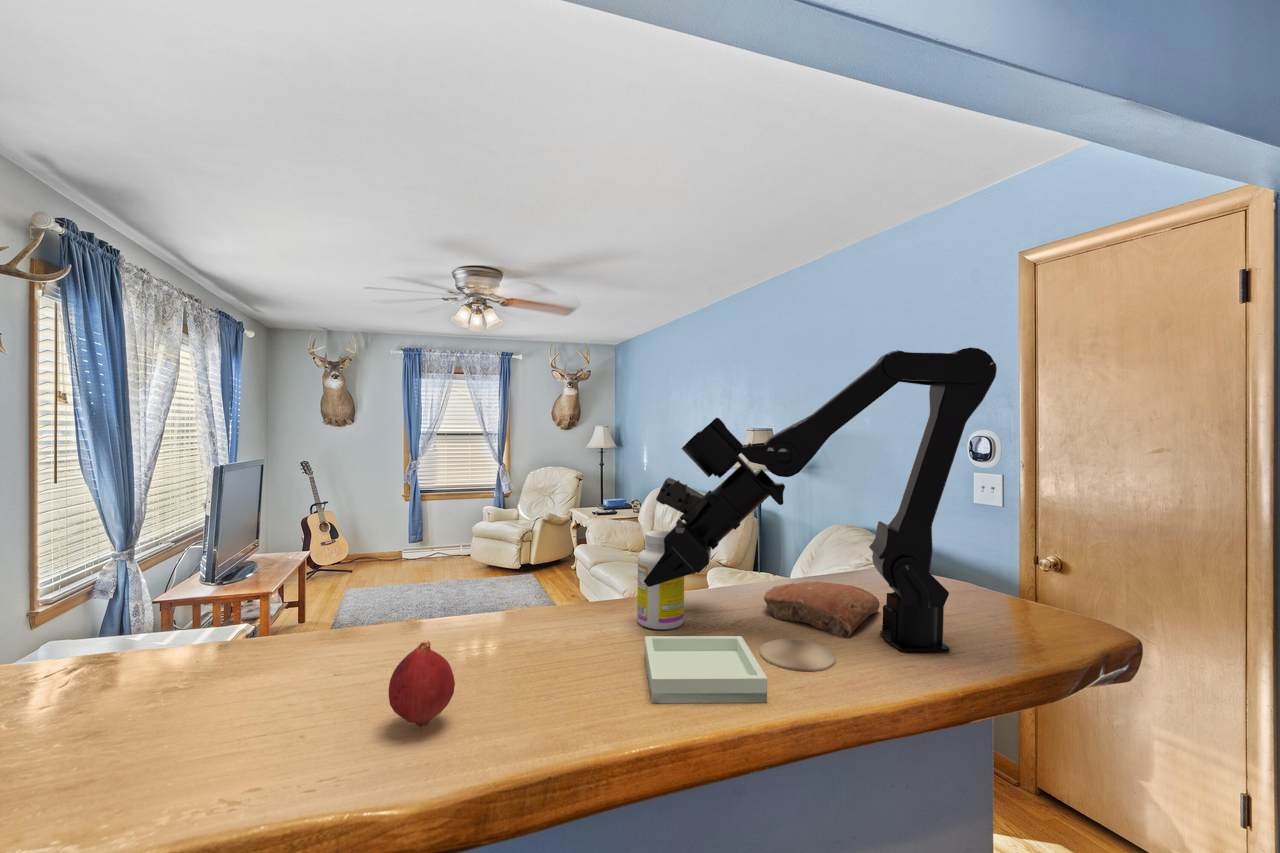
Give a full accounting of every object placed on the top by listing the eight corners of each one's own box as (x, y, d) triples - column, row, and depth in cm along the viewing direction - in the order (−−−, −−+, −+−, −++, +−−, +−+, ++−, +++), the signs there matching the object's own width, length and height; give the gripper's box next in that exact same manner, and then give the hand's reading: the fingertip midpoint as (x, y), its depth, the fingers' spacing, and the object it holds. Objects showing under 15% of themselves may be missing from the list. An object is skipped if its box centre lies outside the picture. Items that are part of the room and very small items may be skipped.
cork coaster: (819, 642, 80) (819, 639, 80) (846, 671, 71) (846, 667, 71) (752, 642, 79) (752, 639, 79) (771, 671, 70) (771, 668, 70)
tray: (741, 656, 75) (741, 636, 74) (766, 702, 63) (767, 678, 62) (644, 656, 74) (644, 636, 74) (651, 703, 62) (652, 679, 62)
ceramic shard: (794, 563, 102) (885, 594, 93) (785, 601, 102) (876, 635, 93) (756, 569, 90) (856, 604, 81) (747, 611, 90) (846, 651, 81)
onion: (388, 747, 53) (389, 656, 53) (387, 716, 58) (388, 634, 58) (457, 734, 55) (458, 647, 55) (450, 706, 60) (451, 627, 60)
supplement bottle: (690, 619, 88) (692, 531, 87) (673, 634, 82) (675, 540, 81) (648, 612, 90) (649, 527, 90) (628, 626, 84) (630, 535, 84)
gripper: (697, 455, 94) (627, 522, 96) (684, 464, 76) (597, 547, 78) (747, 508, 93) (675, 574, 95) (746, 530, 74) (655, 612, 77)
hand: (651, 575), depth 86 cm, fingers open, 9 cm apart
